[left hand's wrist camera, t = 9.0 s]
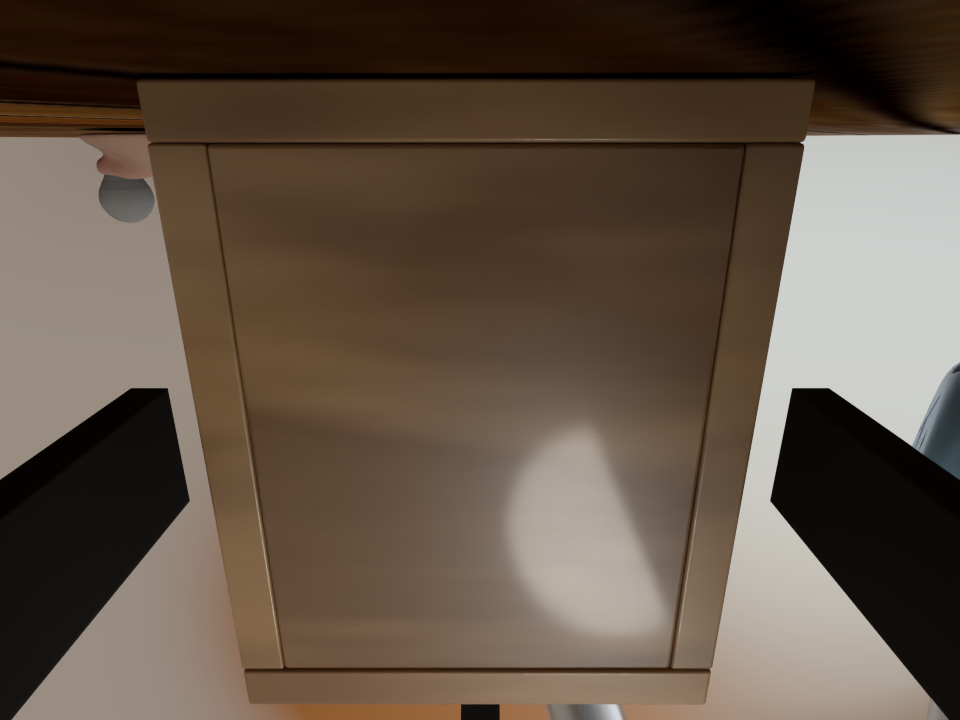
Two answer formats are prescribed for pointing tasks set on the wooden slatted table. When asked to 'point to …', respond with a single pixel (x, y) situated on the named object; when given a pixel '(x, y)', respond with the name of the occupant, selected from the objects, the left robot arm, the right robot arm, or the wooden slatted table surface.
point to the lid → (477, 685)
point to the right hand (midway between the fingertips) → (480, 622)
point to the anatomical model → (121, 154)
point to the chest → (476, 354)
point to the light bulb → (126, 198)
